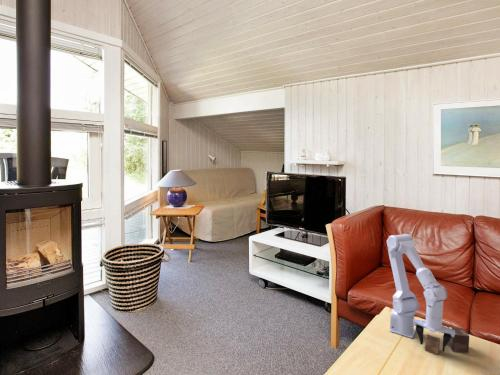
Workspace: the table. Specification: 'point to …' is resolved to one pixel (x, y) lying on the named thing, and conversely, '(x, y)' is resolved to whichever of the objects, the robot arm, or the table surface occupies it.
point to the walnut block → (432, 344)
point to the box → (459, 340)
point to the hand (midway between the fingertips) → (432, 346)
